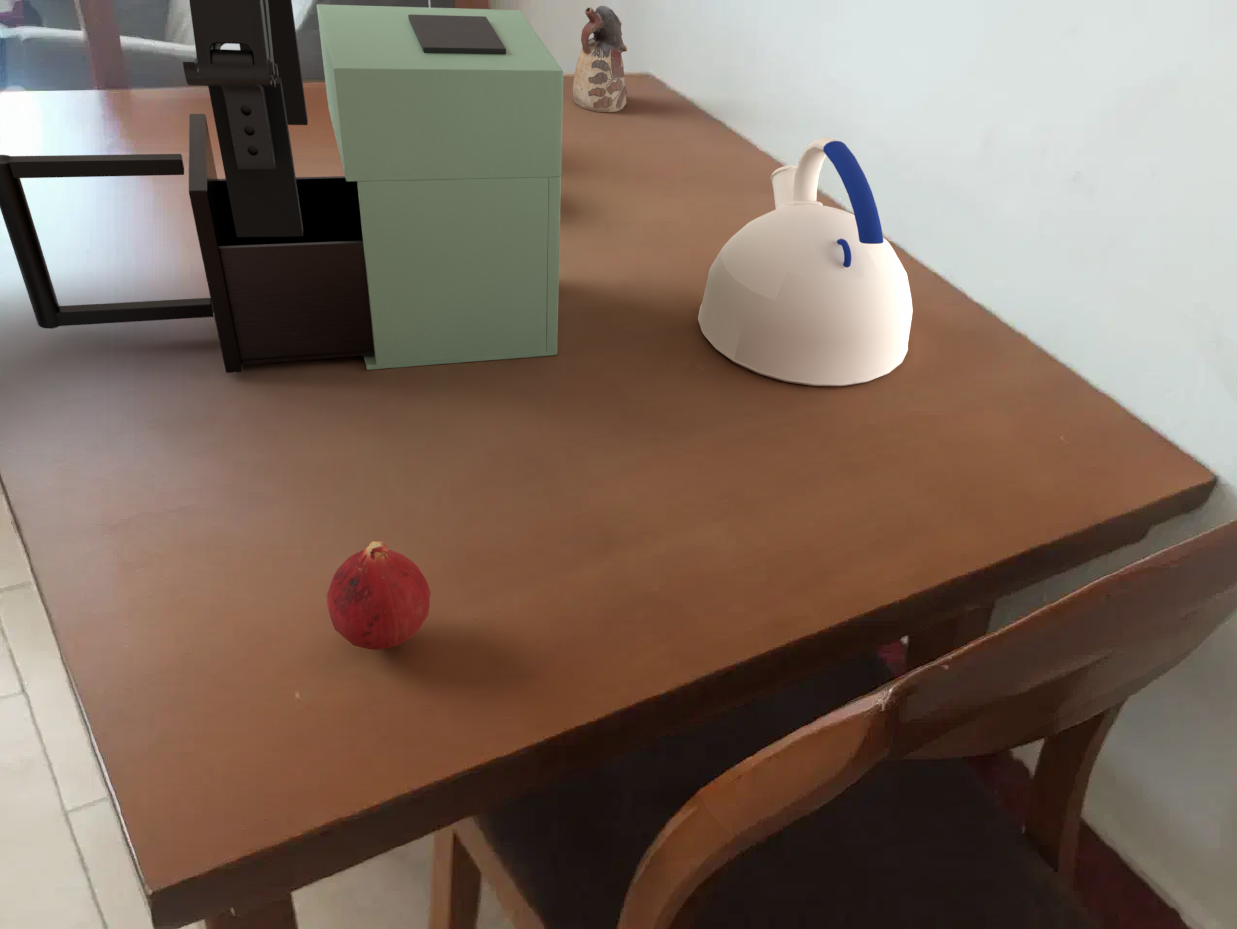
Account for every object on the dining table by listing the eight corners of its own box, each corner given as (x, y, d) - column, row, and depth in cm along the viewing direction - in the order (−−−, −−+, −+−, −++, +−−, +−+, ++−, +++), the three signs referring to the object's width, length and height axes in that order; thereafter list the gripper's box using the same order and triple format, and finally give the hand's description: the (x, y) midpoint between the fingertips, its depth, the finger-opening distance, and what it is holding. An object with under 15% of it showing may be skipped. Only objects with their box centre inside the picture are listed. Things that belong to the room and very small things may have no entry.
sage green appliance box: (366, 370, 89) (333, 62, 74) (348, 284, 100) (315, -2, 84) (557, 355, 95) (563, 64, 79) (521, 275, 105) (520, 4, 89)
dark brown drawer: (32, 388, 81) (-33, 196, 71) (50, 292, 91) (-5, 113, 82) (420, 358, 90) (408, 185, 81) (397, 275, 101) (384, 112, 91)
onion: (376, 693, 64) (364, 594, 59) (314, 644, 66) (296, 545, 61) (452, 642, 68) (446, 545, 62) (391, 597, 70) (380, 500, 65)
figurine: (635, 110, 144) (642, 13, 136) (587, 114, 141) (591, 15, 133) (611, 91, 148) (615, -3, 141) (563, 95, 145) (566, -2, 137)
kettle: (856, 276, 114) (894, 100, 102) (944, 381, 99) (999, 191, 88) (671, 283, 108) (689, 97, 96) (736, 396, 93) (766, 194, 81)
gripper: (117, -421, 47) (212, 84, 60) (-15, -424, 29) (162, 296, 42) (301, -396, 49) (353, 88, 63) (285, -384, 31) (362, 291, 45)
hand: (276, 173), depth 53 cm, fingers open, 13 cm apart
